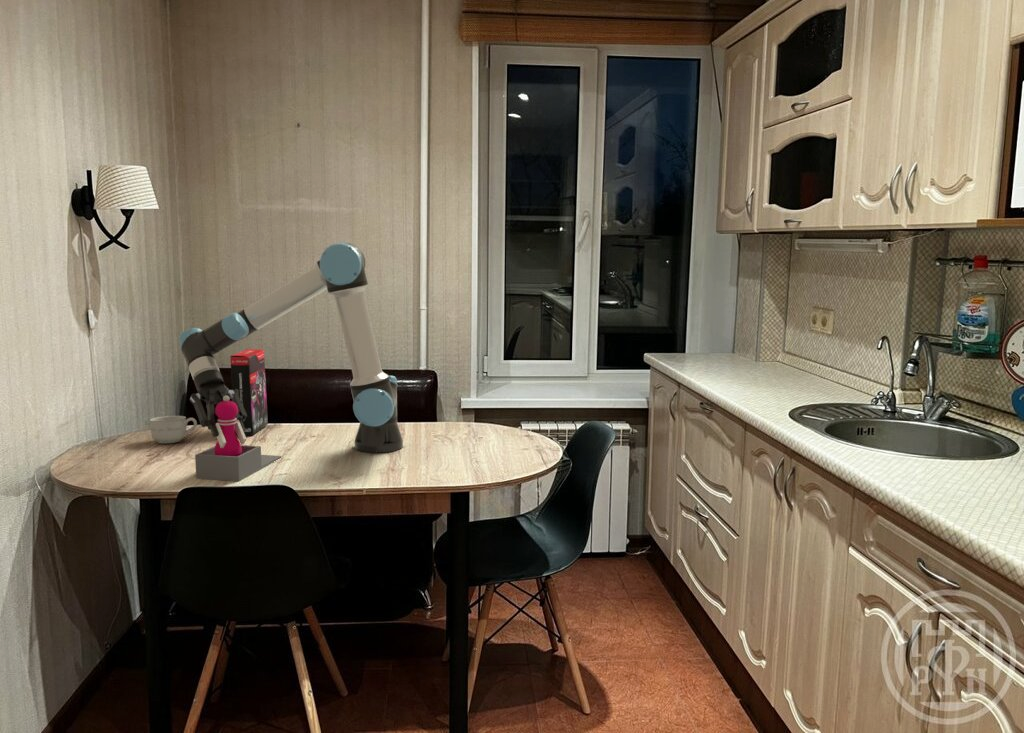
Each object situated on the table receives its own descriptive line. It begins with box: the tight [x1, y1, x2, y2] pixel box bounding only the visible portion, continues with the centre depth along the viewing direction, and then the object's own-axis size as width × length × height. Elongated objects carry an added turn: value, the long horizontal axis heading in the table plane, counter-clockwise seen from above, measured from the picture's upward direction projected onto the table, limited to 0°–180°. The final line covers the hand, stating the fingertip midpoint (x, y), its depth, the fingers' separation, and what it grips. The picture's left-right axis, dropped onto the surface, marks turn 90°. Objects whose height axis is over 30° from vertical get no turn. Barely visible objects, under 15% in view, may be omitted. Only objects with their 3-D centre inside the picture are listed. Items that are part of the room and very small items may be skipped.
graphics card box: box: [230, 348, 269, 437], centre depth 275 cm, size 17×7×27 cm, turn 0°
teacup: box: [149, 415, 198, 444], centre depth 260 cm, size 14×11×8 cm
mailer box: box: [194, 444, 282, 482], centre depth 230 cm, size 13×25×7 cm, turn 170°
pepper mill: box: [214, 394, 242, 456], centre depth 223 cm, size 7×7×20 cm
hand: (233, 443), depth 221 cm, fingers closed on pepper mill, 5 cm apart
